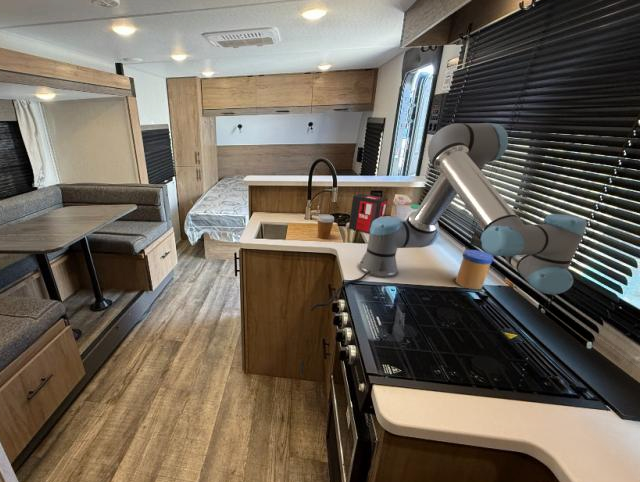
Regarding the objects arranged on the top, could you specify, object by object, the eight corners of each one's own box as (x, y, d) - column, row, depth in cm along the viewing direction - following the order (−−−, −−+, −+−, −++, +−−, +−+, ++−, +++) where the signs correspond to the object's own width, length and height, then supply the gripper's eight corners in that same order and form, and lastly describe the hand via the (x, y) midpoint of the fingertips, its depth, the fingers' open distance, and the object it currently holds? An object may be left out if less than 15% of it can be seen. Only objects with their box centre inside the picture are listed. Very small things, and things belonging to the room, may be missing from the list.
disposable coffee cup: (325, 241, 168) (328, 220, 163) (311, 236, 175) (313, 216, 170) (335, 237, 174) (338, 216, 169) (321, 232, 181) (323, 213, 176)
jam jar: (475, 291, 119) (486, 262, 114) (451, 282, 126) (459, 254, 121) (486, 285, 123) (496, 257, 118) (461, 276, 130) (470, 249, 125)
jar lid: (485, 266, 114) (487, 261, 113) (457, 257, 122) (459, 253, 121) (496, 260, 119) (498, 256, 118) (469, 252, 126) (470, 248, 125)
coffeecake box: (388, 224, 194) (394, 194, 186) (400, 225, 192) (407, 194, 184) (391, 232, 181) (398, 199, 173) (405, 233, 179) (412, 200, 171)
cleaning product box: (348, 228, 187) (353, 196, 179) (355, 225, 193) (360, 193, 185) (375, 235, 177) (381, 201, 169) (381, 231, 182) (388, 198, 174)
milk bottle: (412, 238, 172) (420, 203, 164) (418, 243, 165) (427, 207, 157) (397, 237, 173) (405, 203, 164) (403, 242, 166) (411, 207, 157)
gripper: (472, 265, 94) (453, 242, 113) (575, 277, 87) (538, 250, 105) (479, 242, 92) (459, 222, 110) (587, 253, 84) (546, 229, 102)
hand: (497, 236), depth 108 cm, fingers open, 13 cm apart
